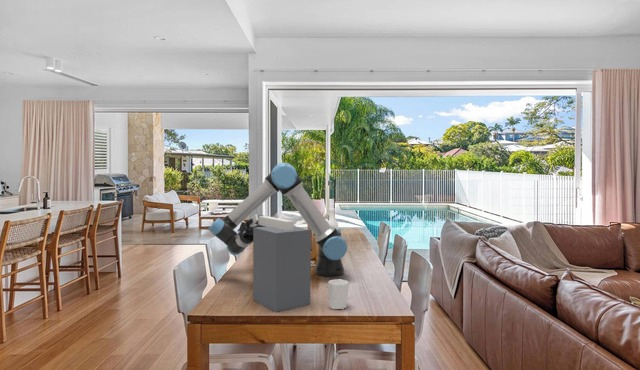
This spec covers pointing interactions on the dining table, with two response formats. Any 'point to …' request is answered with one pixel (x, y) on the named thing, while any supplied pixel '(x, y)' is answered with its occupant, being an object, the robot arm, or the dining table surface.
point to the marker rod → (275, 223)
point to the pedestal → (281, 267)
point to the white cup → (338, 293)
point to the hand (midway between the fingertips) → (267, 216)
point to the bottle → (332, 218)
